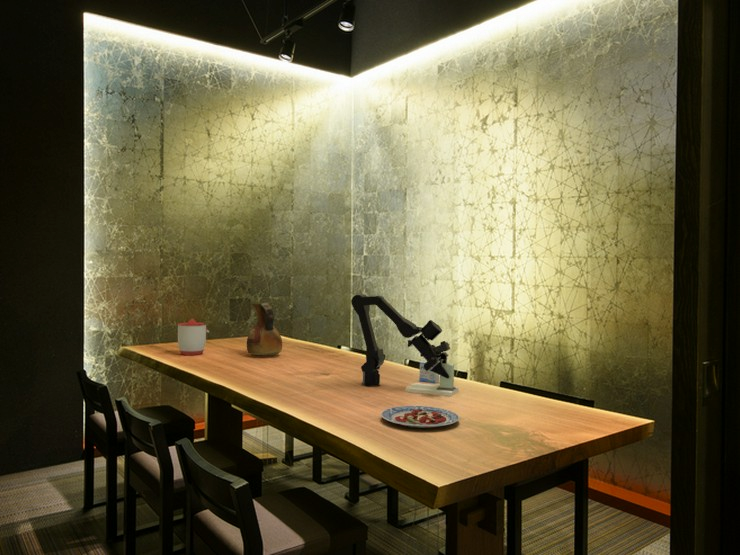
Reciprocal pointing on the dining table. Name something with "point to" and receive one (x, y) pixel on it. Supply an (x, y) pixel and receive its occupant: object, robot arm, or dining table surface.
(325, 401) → the dining table surface
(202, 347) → the citrus juicer
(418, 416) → the ceramic plate
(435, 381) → the medicine box
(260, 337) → the ceramic pitcher
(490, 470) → the dining table surface
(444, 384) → the grey green upright block
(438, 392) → the ticket base
